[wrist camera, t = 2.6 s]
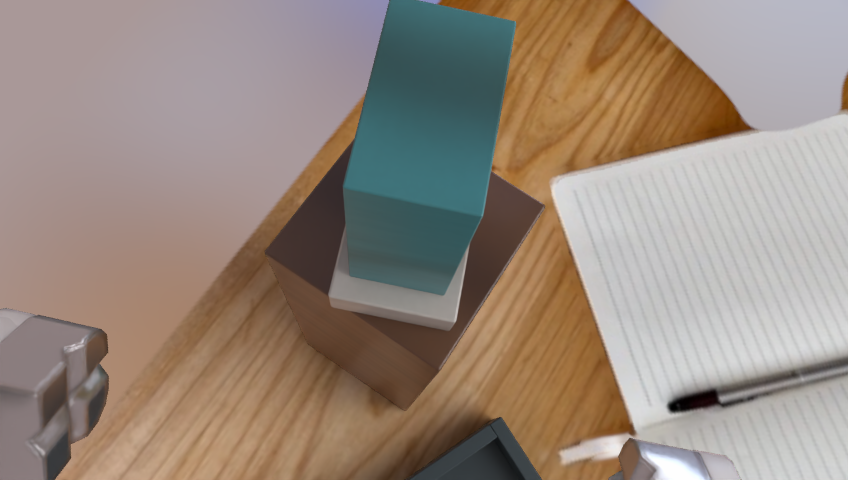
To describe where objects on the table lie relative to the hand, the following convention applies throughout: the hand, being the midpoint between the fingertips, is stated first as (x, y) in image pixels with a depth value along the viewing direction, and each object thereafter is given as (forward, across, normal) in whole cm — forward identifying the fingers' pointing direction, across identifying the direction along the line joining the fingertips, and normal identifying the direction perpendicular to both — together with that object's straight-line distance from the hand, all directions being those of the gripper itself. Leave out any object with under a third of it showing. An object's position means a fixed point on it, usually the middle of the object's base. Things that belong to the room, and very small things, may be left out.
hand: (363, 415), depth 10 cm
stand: (+25, 0, +15) cm, 29 cm away
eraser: (+12, 0, +2) cm, 13 cm away
